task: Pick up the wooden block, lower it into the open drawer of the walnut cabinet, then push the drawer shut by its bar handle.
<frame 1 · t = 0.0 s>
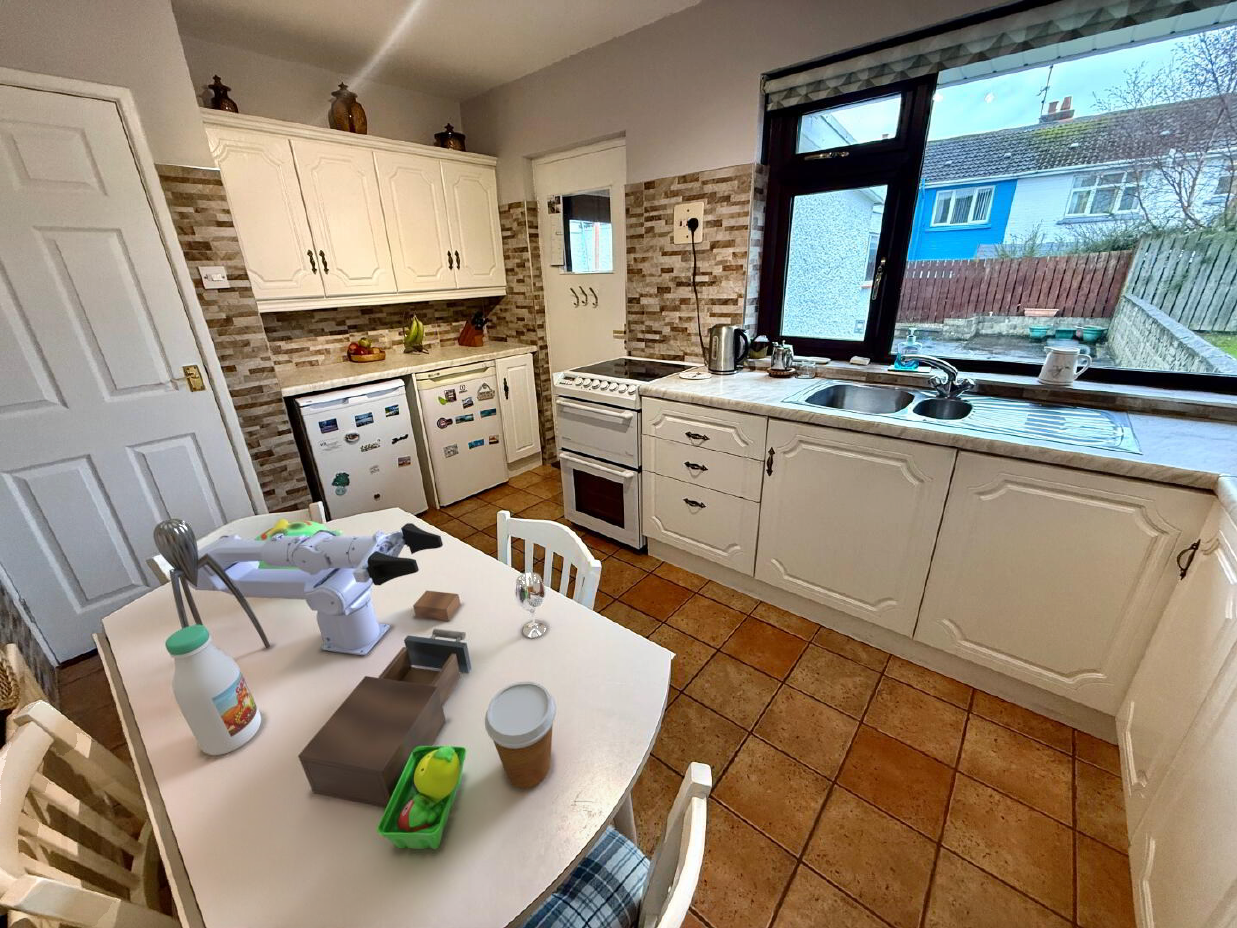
hand: (429, 553, 83), 22 cm above the table, tool horizontal, fingers open, 7 cm apart
toy bird: (302, 580, 113), on the table
milk bottle: (233, 734, 76), on the table
juicer: (225, 660, 91), on the table
fruit basket: (436, 812, 65), on the table
drawer: (426, 669, 82), point 4 cm above the table, slide at 9.0 cm
wineglass: (534, 630, 96), on the table
cabinet: (384, 755, 72), on the table
disposable coffee cup: (528, 767, 70), on the table
wooden block: (438, 611, 102), on the table
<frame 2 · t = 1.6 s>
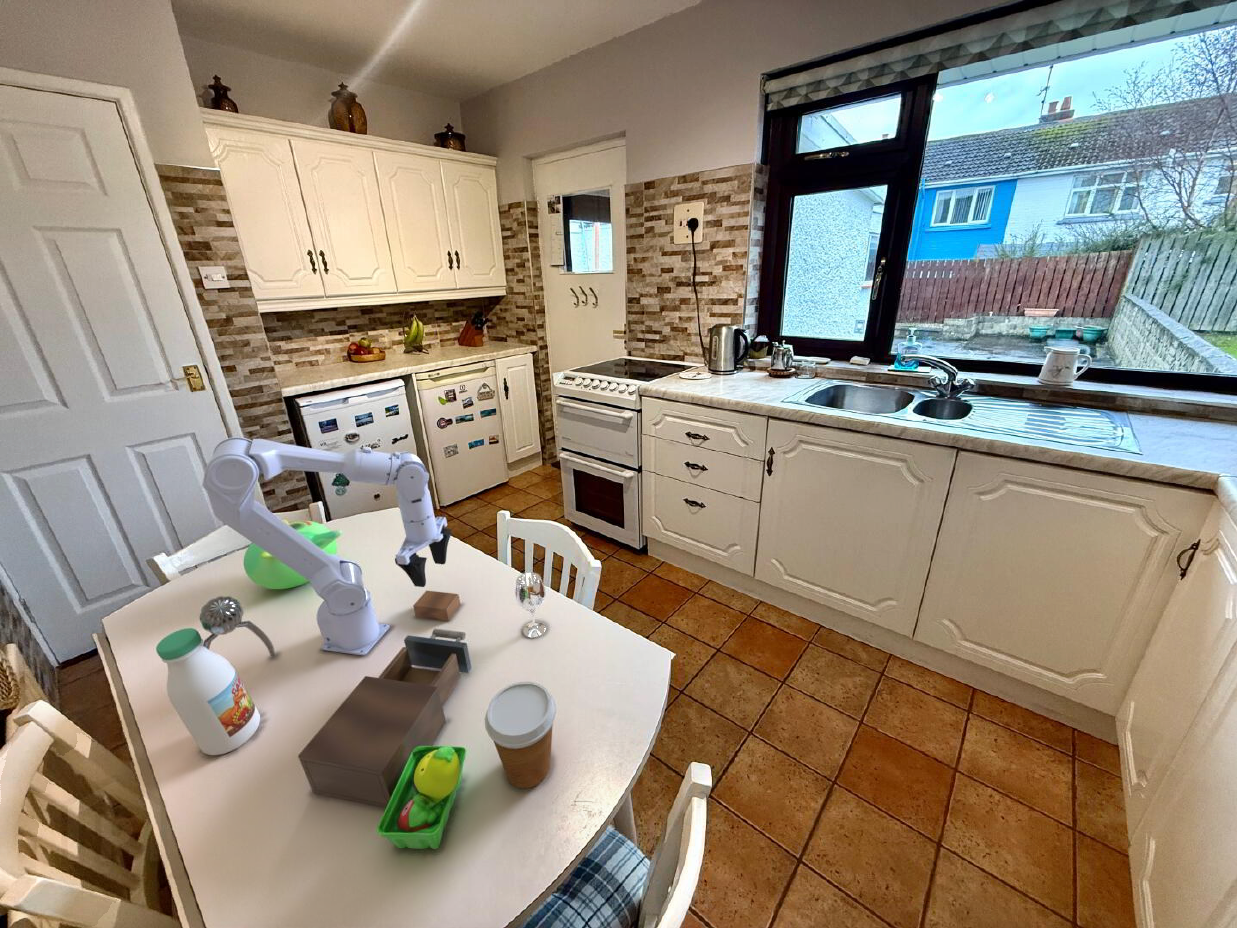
hand: (430, 574, 98), 9 cm above the table, tool pointing down, fingers open, 7 cm apart
milk bottle: (233, 734, 76), on the table, touching juicer
juicer: (229, 649, 89), point 3 cm above the table, touching milk bottle
everything else where it was.
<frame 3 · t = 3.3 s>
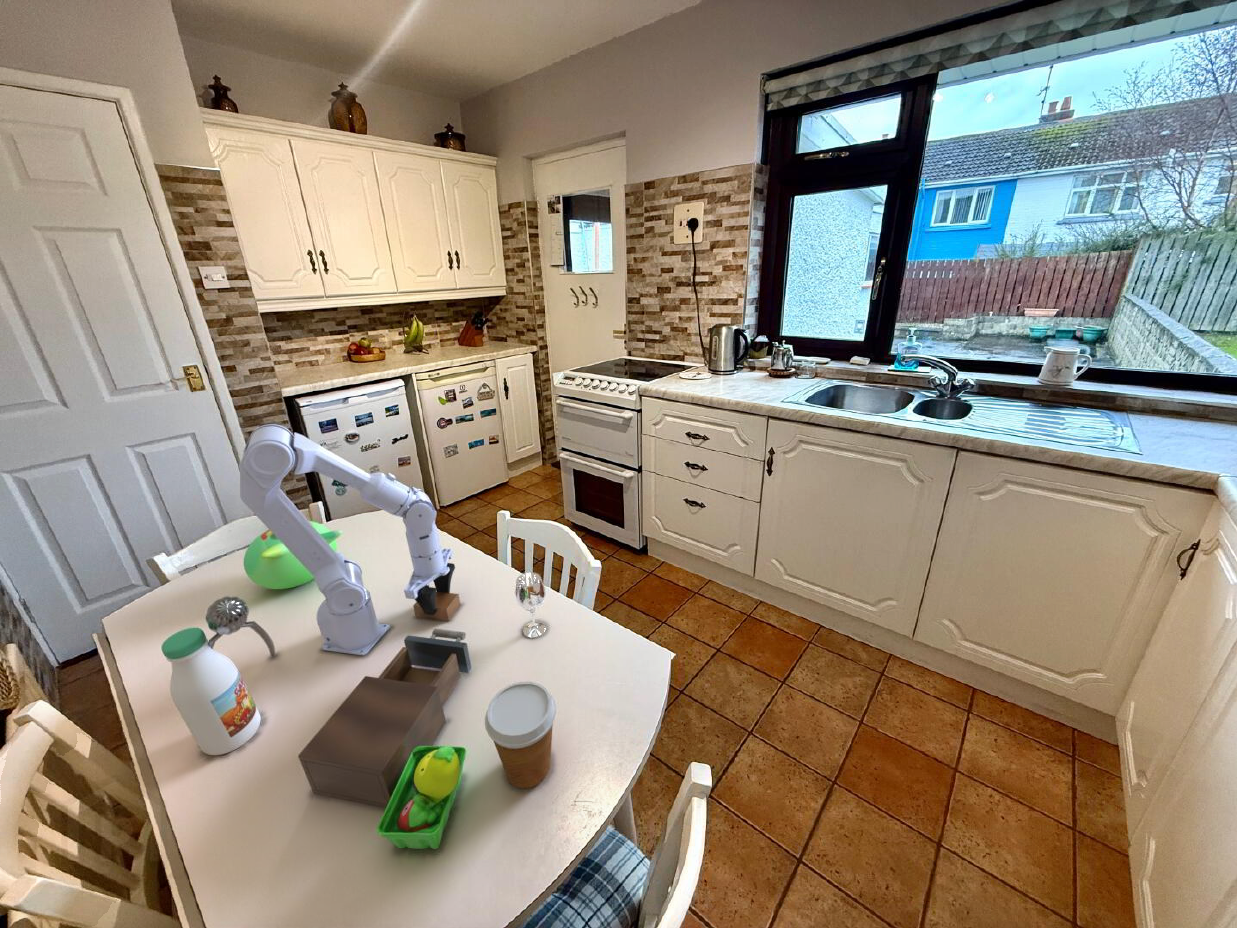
hand: (437, 605, 101), 2 cm above the table, tool pointing down, fingers closed on wooden block, 5 cm apart
wooden block: (438, 611, 102), on the table, touching gripper
everything else where it was.
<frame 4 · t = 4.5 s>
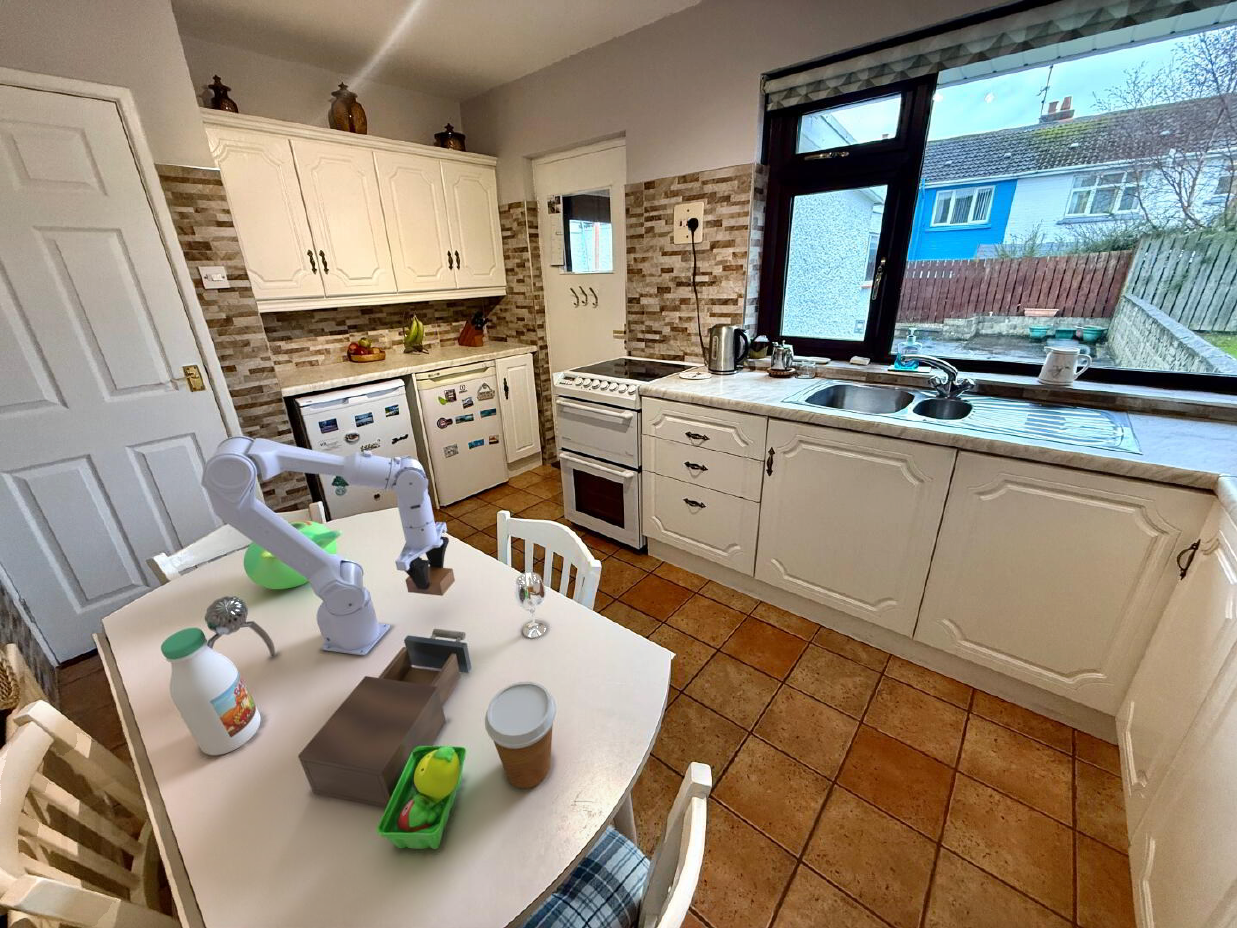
hand: (430, 579, 97), 9 cm above the table, tool pointing down, fingers closed on wooden block, 5 cm apart
wooden block: (431, 586, 98), point 7 cm above the table, touching gripper
everything else where it was.
when the fingers open (4 cm above the table, at t = 8.3 s): wooden block stays where it is, resting on drawer.
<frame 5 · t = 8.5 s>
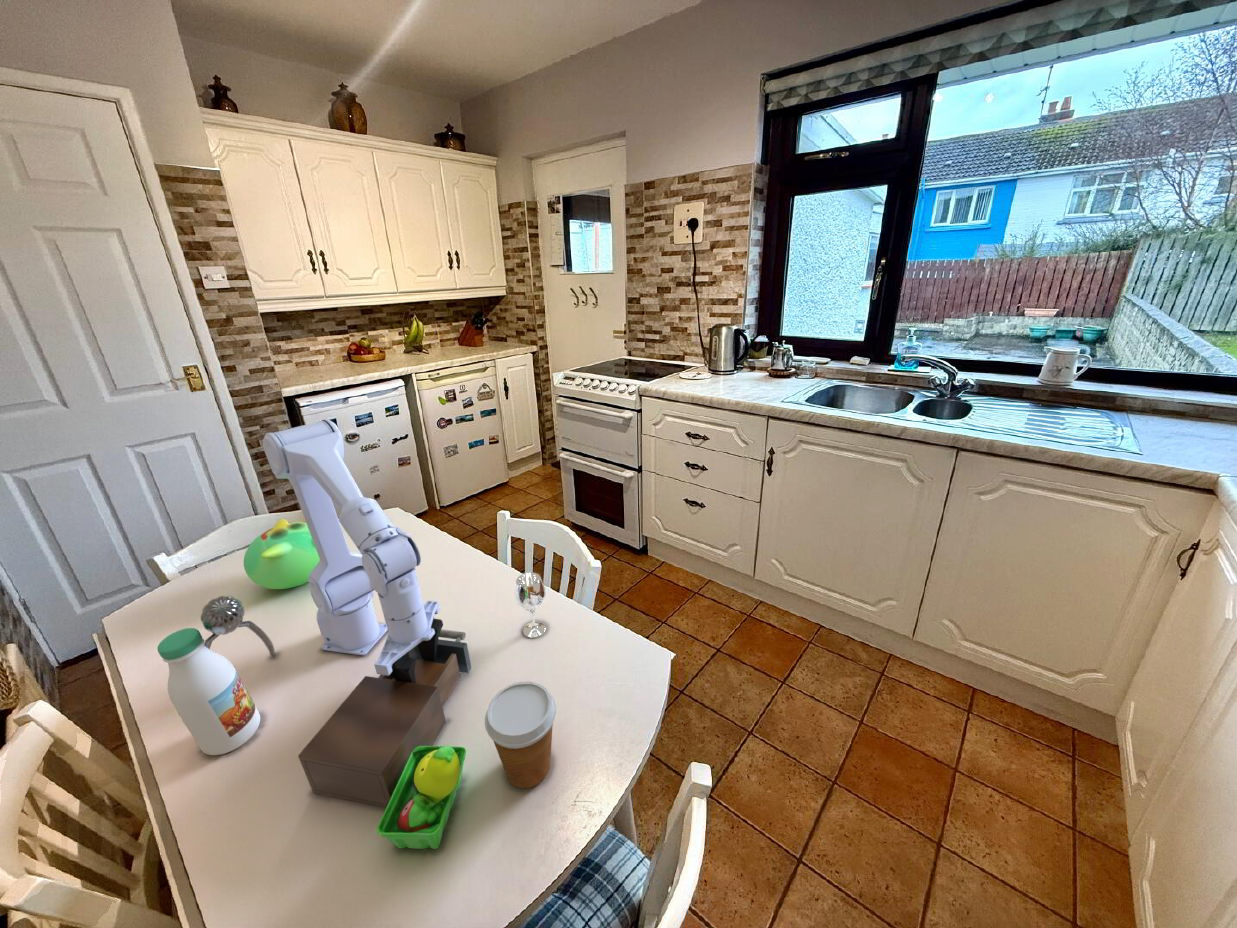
hand: (419, 673, 80), 5 cm above the table, tool pointing down, fingers open, 5 cm apart
drawer: (426, 669, 82), point 4 cm above the table, slide at 9.0 cm, touching wooden block
wooden block: (423, 686, 81), point 2 cm above the table, touching drawer
everything else where it was.
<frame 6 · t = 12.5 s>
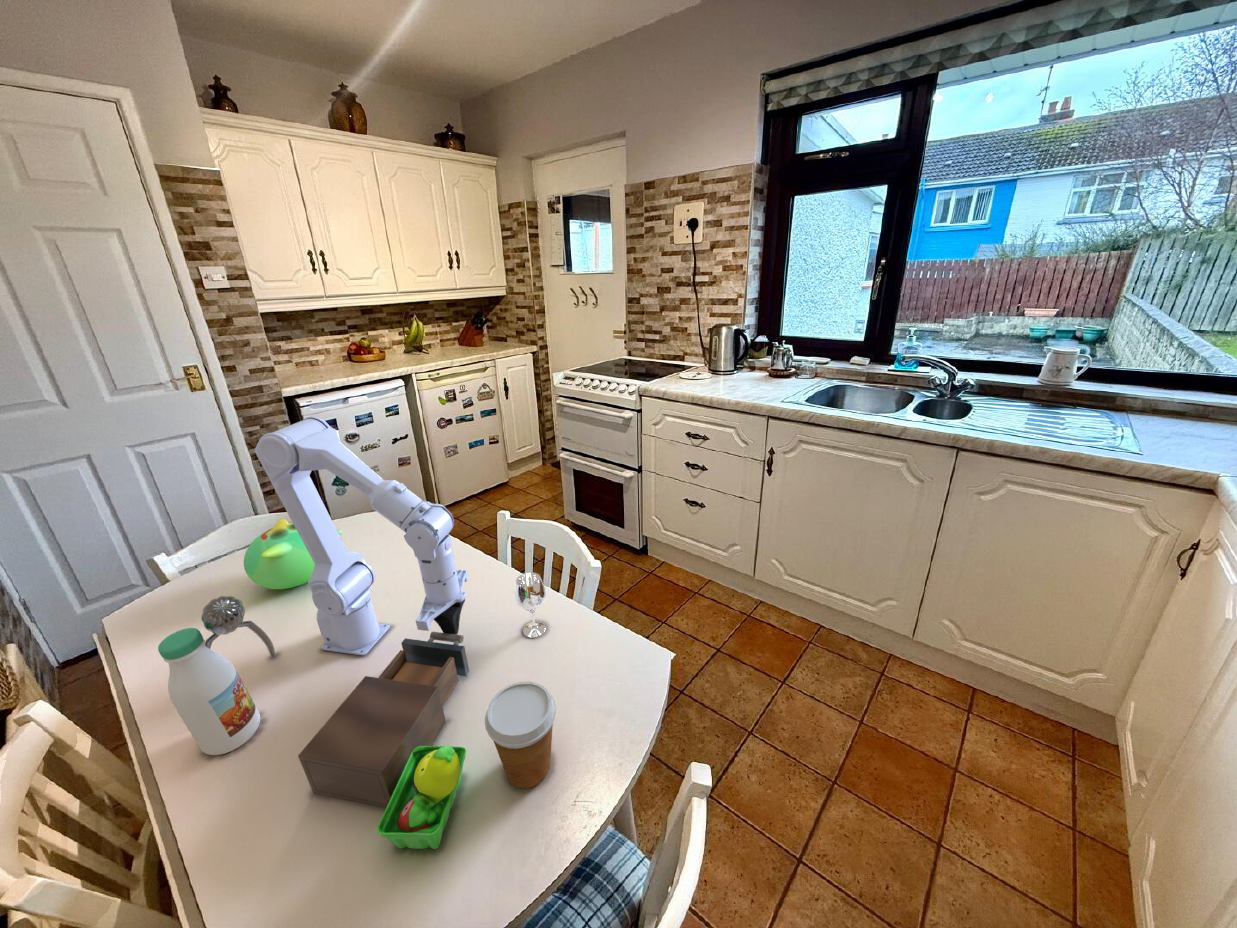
hand: (451, 634, 90), 4 cm above the table, tool pointing down, fingers closed
drawer: (424, 673, 82), point 4 cm above the table, slide at 8.2 cm, touching wooden block, gripper
everything else where it was.
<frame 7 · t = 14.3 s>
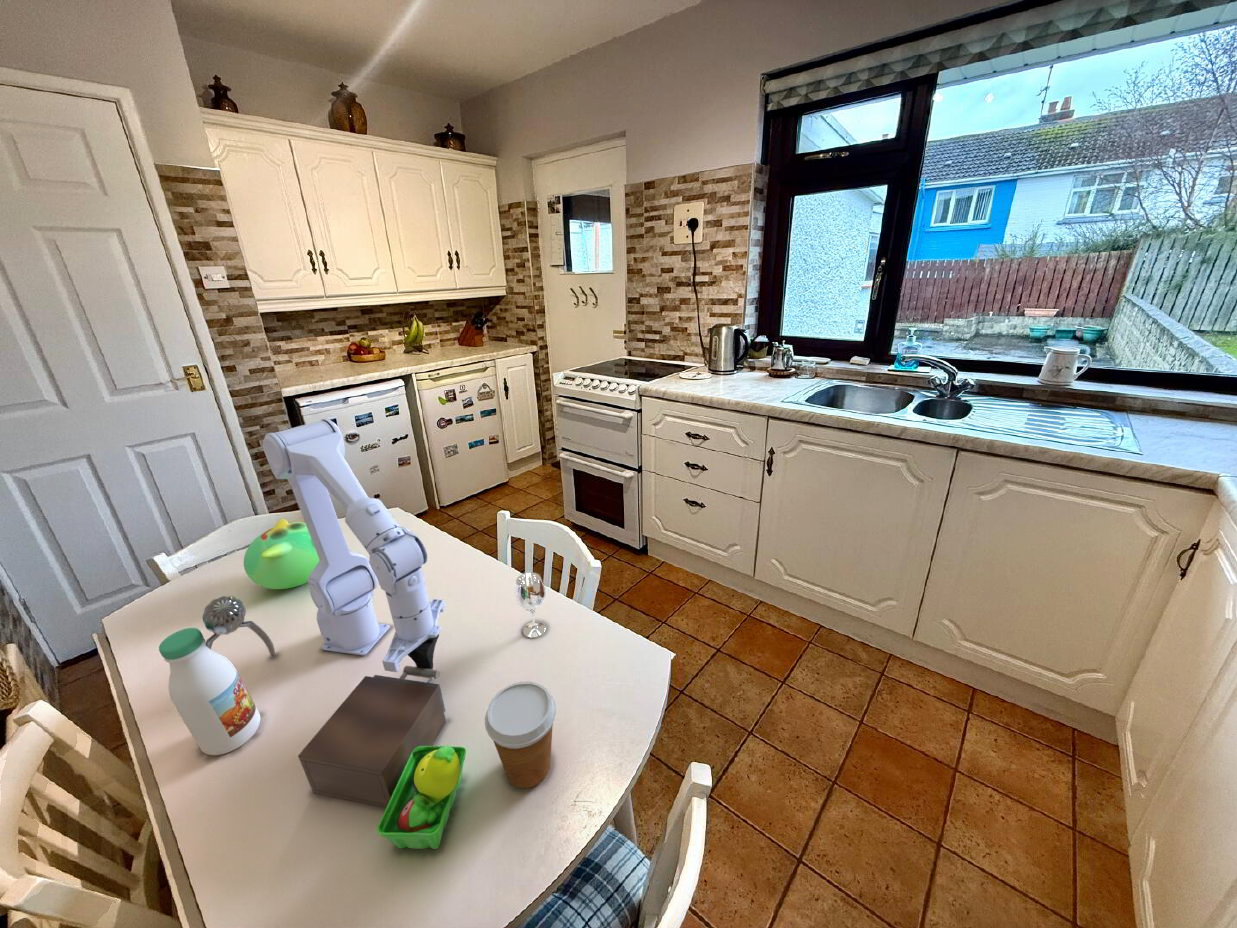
hand: (425, 670, 82), 4 cm above the table, tool pointing down, fingers closed, pressing on drawer
drawer: (394, 714, 74), point 4 cm above the table, slide at 0.0 cm, touching cabinet, wooden block, gripper
wooden block: (390, 733, 73), point 2 cm above the table, touching drawer
everything else where it was.
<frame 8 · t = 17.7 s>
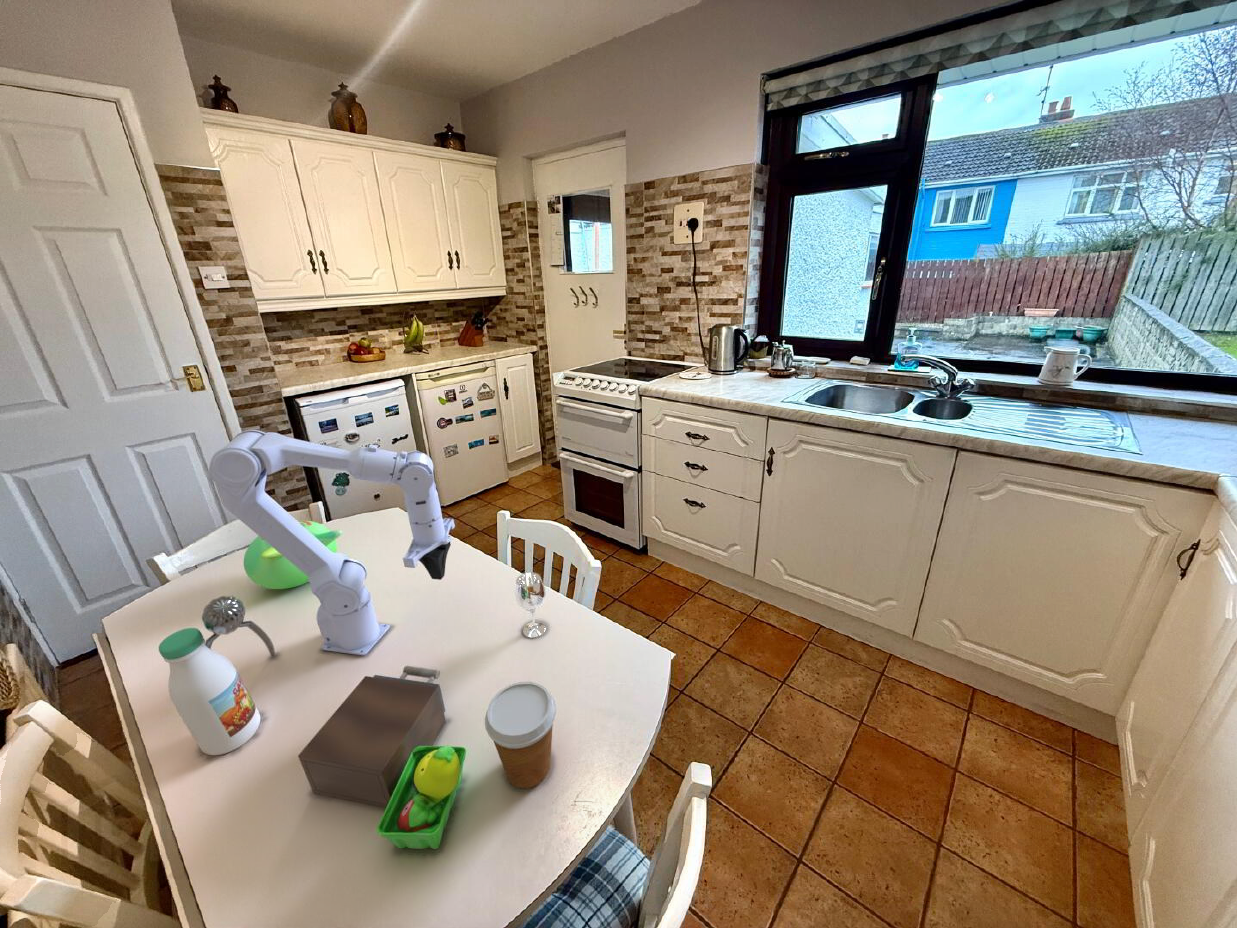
hand: (438, 577, 95), 10 cm above the table, tool pointing down, fingers closed
drawer: (394, 714, 74), point 4 cm above the table, slide at 0.0 cm, touching cabinet, wooden block
everything else where it was.
at the end: wooden block inside the target area in the cabinet (2.0 cm from its centre), point 2.0 cm above the cabinet's base; drawer slide at 0.0 cm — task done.
